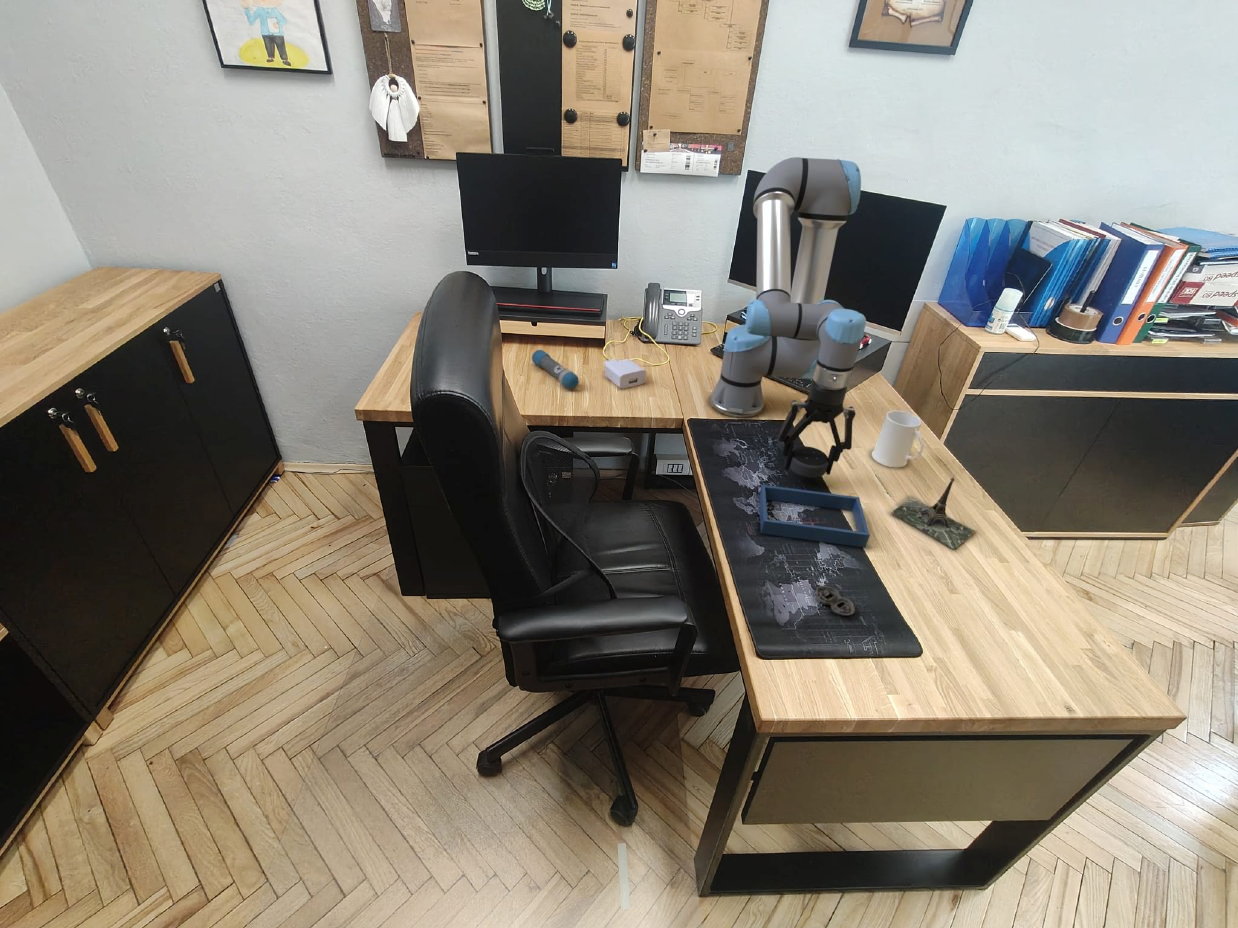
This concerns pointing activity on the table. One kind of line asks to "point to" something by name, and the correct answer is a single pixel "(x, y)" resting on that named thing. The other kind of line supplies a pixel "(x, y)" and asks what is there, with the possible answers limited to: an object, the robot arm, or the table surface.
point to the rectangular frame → (811, 531)
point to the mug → (897, 439)
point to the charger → (624, 373)
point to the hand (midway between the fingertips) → (806, 468)
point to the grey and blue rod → (555, 369)
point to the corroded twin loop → (835, 600)
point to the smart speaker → (809, 462)
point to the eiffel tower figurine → (935, 520)
